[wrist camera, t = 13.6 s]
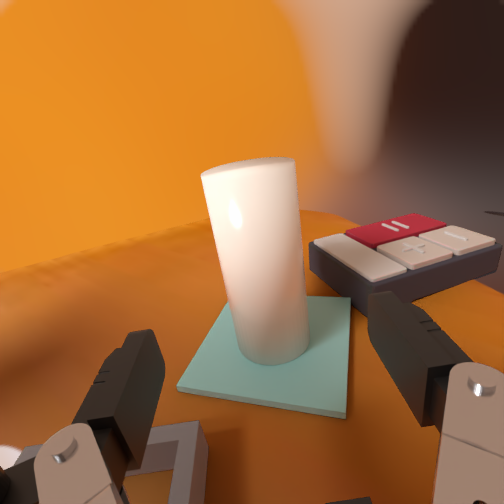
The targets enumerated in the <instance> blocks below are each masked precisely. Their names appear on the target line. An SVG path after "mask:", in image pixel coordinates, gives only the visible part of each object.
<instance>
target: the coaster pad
mask: <svg viewBox="0 0 504 504" xmlns="http://www.w3.org/2000/svg"><path fill="white" fill-rule="evenodd" d="M307 306H308V318H309V329H310V342H309V345H308V347H307V349H306V350H305V351H304V353H302V354H301V355H300V356H299V357H297V358H296V359H294V360H292V361H290V362H287V363H284V364H279V365H261V364H257V363H254V362H252V361H250V360H248V359H247V358H245V357H244V356H243V355H242V353H241V352H240V350H239V347H238V343H237V338H236V334H235V329H234V324H233V320H232V315H231V311H230V306H229V302H227V303H226V305H225V307H224V308H223V310H222V312H221V313H220V315H219V316H218V318H217V320H216V321H215V323H214V325H213V326H212V328H211V330H210V331H209V333H208V334H207V336H206V338H205V339H204V341H203V343H202V344H201V346H200V348H199V349H198V351H197V352H196V354H195V356H194V357H193V359H192V361H191V362H190V364H189V365H188V367H187V369H186V370H185V372H184V374H183V375H182V377H181V379H180V380H179V382H178V383H177V385H176V387H177V390H178V392H184V393H190V394H196V395H202V396H208V397H214V398H220V399H226V400H232V401H238V402H244V403H250V404H256V405H262V406H268V407H274V408H280V409H286V410H292V411H298V412H304V413H310V414H316V415H322V416H328V417H334V418H340V419H346V407H347V383H348V360H349V336H350V313H351V298H350V297H324V296H307Z"/></svg>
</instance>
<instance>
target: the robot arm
mask: <svg viewBox="0 0 504 504" xmlns="http://www.w3.org/2000/svg"><path fill="white" fill-rule="evenodd" d="M368 334H369V338H370V341H371V343H372V345H373V347H374V349H375V350H376V352H377V354H378V355H379V357H380V359H381V360H382V362H383V364H384V365H385V367H386V369H387V370H388V372H389V374H390V375H391V377H392V379H393V381H394V382H395V384H396V386H397V387H398V389H399V391H400V392H401V394H402V396H403V397H404V399H405V401H406V402H407V404H408V406H409V407H410V409H411V411H412V412H413V414H414V416H415V417H416V419H417V421H418V422H419V424H420V426H421V427H426V426H432V425H435V426H436V428H437V429H438V431H439V432H440V440H439V447H438V454H437V462H436V469H435V476H434V484H433V491H432V498H431V504H504V374H503V373H501V372H500V371H498V370H496V369H494V368H492V367H490V366H487V365H484V364H480V363H474V362H473V361H472V360H471V359H470V358H469V357H468V356H467V355H466V354H465V353H464V352H463V351H462V350H461V348H460V347H459V346H458V345H457V344H456V343H455V342H454V341H453V340H452V339H451V338H450V337H449V336H448V335H447V334H446V333H445V332H444V331H443V330H441V328H440V327H439V326H438V325H437V324H436V322H433V319H432V318H431V317H430V316H429V315H428V314H427V313H426V312H425V311H424V310H423V309H421V308H419V307H417V306H415V305H414V304H412V303H410V302H407V303H402V302H401V301H400V300H399V299H398V297H397V296H396V295H395V294H394V293H393V292H392V291H385V292H379V293H373V294H369V295H368ZM98 373H99V375H97V376H96V378H95V380H94V382H93V385H92V386H91V388H90V389H89V391H88V393H87V395H86V397H85V399H84V401H83V403H82V405H81V407H80V408H79V410H78V412H77V414H76V416H75V418H74V420H73V422H72V424H71V425H69V426H67V427H65V428H63V429H61V430H59V431H58V432H56V433H55V434H54V435H53V436H51V437H50V438H49V439H48V440H47V441H46V442H45V443H44V444H43V446H42V447H41V448H40V450H39V452H38V453H37V455H36V456H35V457H33V458H31V459H28V460H26V461H24V462H22V463H19V464H17V465H15V466H12V467H10V468H8V469H6V470H3V469H2V468H1V466H0V504H131V502H130V499H129V497H128V494H127V492H126V490H125V487H124V486H123V481H124V477H125V474H126V471H131V470H138V469H140V468H141V465H142V461H143V457H144V453H145V449H146V446H147V442H148V438H149V434H150V431H151V427H152V423H153V419H154V415H155V412H156V408H157V404H158V400H159V397H160V393H161V389H162V385H163V382H164V378H165V363H164V359H163V356H162V354H161V351H160V348H159V345H158V343H157V340H156V337H155V335H154V332H153V331H152V330H151V329H147V330H141V331H135V332H130V333H129V334H128V335H127V337H126V339H125V341H124V343H123V346H122V348H117V349H115V350H114V351H113V352H112V353H111V354H110V355H109V356H108V357H107V358H106V360H105V361H104V363H103V365H102V367H101V369H100V370H99V372H98ZM326 504H372V502H371V499H370V497H364V498H357V499H350V500H344V501H337V502H330V503H326Z"/></svg>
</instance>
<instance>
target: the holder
mask: <svg viewBox="0 0 504 504" xmlns="http://www.w3.org/2000/svg"><path fill="white" fill-rule="evenodd" d="M42 446H43V444H40V445H34V446H27V447H25V448H24V450H23V451H22V453H21V454H20V456H19V458H18V459H17V461H16V462H15V464H14V466H15V465H17V464H19V463H22V462H24V461H26V460H28V459H31V458H33V457H35V456H36V455H37V453H38V452H39V450H40V448H41V447H42ZM208 450H209V446H208V444H207V441H206V438H205V435H204V433H203V430H202V427H201V424H200V422H199V420H197V421H191V422H184V423H178V424H171V425H164V426H158V427H151V431H150V434H149V438H148V442H147V446H146V449H145V453H144V457H143V461H142V465H141V468H140V469H138V470H131V471H126V474H125V476H131V475H138V474H145V473H152V472H158V471H165V470H172V469H174V471H173V476H172V482H171V488H170V493H169V499H168V504H204V497H205V485H206V473H207V462H208Z"/></svg>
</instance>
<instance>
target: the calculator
mask: <svg viewBox="0 0 504 504" xmlns="http://www.w3.org/2000/svg"><path fill="white" fill-rule="evenodd" d="M501 251H502V245H501V244H499V243H496V242H495V239H494V238H492V237H489V236H485V235H482V234H479V233H476V232H473V231H469V230H466V229H463V228H460V227H457V226H448V227H447V226H446V223H444V222H441V221H438V220H435V219H431V218H428V217H425V216H421V215H419V214H415V213H413V214H409V215H404V216H401V217H397V218H393V219H389V220H385V221H381V222H377V223H373V224H369V225H365V226H361V227H357V228H353V229H349V230H346V233H344V234H341V233H340V234H335V235H332V236H328V237H324V238H320V239H316V240H314V241H313V242H310V243H309V264H310V270H311V271H312V272H313V273H315V274H316V275H317V276H318V277H319V278H321V279H322V280H323V281H324V282H325V283H327V284H328V285H329V286H330V287H331V288H332V289H334V290H335V291H336V292H337V293H338V294H340V295H341V296H342V297H350V298H351V304H352V305H353V306H354V307H355V308H356V309H357V310H359V311H360V312H361V313H362V314H363V315H365V316H366V317H368V295H369V294H373V293H379V292H385V291H392V292H393V293H394V294H395V295H396V296H397V297H398V299H399V300H400V301H401V302H402V303H407V302H410V303H411V302H412V301H413V300H416V299H419V298H422V297H425V296H428V295H431V294H434V293H436V292H439V291H442V290H445V289H448V288H451V287H454V286H456V285H459V284H461V283H464V282H466V281H469V280H472V279H474V280H475V279H478V278H480V277H483V276H486V275H489V274H492V273H495V272H496V271H497V267H498V262H499V258H500V255H501Z"/></svg>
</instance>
